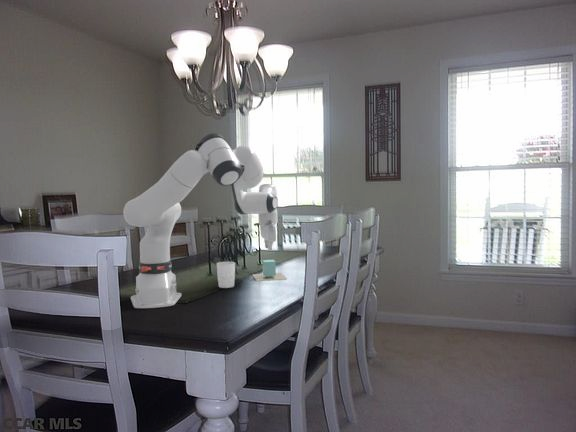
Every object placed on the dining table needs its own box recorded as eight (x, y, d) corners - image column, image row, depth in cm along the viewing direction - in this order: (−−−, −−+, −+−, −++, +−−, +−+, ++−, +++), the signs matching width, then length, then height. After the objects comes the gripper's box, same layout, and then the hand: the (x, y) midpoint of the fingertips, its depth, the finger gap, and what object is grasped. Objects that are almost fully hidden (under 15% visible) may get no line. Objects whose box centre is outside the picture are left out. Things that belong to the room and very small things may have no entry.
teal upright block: (275, 275, 212) (275, 261, 212) (264, 276, 211) (264, 262, 211) (273, 273, 217) (273, 259, 217) (262, 274, 216) (262, 260, 216)
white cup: (232, 288, 192) (231, 265, 191) (214, 288, 193) (213, 264, 193) (238, 284, 199) (237, 261, 199) (220, 284, 201) (220, 261, 200)
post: (287, 279, 209) (286, 263, 209) (256, 281, 206) (256, 265, 206) (280, 273, 223) (280, 259, 222) (252, 275, 220) (251, 260, 219)
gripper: (279, 221, 203) (279, 252, 204) (270, 217, 223) (271, 246, 224) (265, 221, 202) (265, 252, 203) (257, 218, 222) (258, 246, 223)
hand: (268, 249), depth 214 cm, fingers open, 6 cm apart
